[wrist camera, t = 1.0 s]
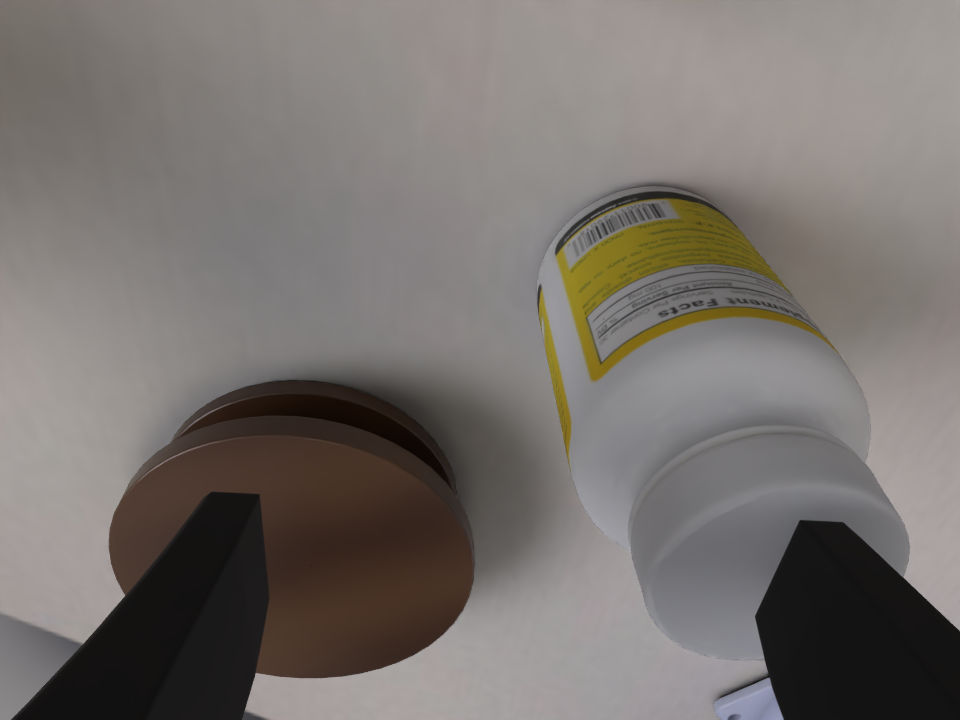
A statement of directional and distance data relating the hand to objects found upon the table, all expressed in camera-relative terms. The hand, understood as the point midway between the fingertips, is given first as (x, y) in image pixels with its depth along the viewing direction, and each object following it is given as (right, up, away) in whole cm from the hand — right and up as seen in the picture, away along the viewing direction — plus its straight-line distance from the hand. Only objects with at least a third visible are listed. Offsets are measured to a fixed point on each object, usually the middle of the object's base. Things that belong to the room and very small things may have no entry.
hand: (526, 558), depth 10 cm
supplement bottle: (+3, +5, +9) cm, 11 cm away
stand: (-6, -2, +13) cm, 15 cm away
